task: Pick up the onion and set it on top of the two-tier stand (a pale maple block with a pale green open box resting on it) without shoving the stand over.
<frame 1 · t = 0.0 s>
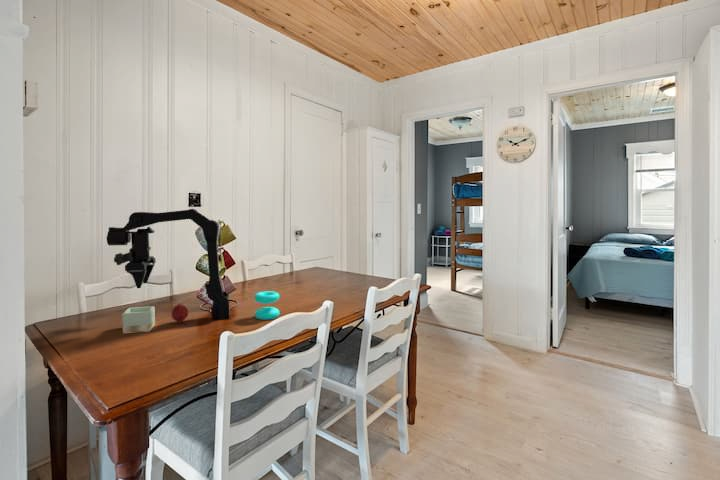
hand: (142, 285, 143), 15 cm above the table, fingers open, 9 cm apart
onion: (180, 323, 146), on the table
donuts: (267, 317, 154), on the table
base block: (139, 329, 138), on the table, touching pale green open box
pale green open box: (139, 321, 138), point 3 cm above the table, touching base block
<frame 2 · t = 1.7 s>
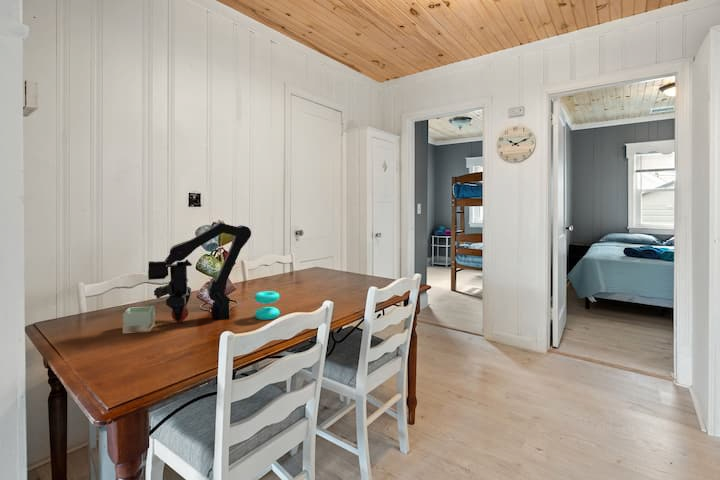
hand: (180, 317, 145), 2 cm above the table, fingers open, 9 cm apart
nothing on the table moved.
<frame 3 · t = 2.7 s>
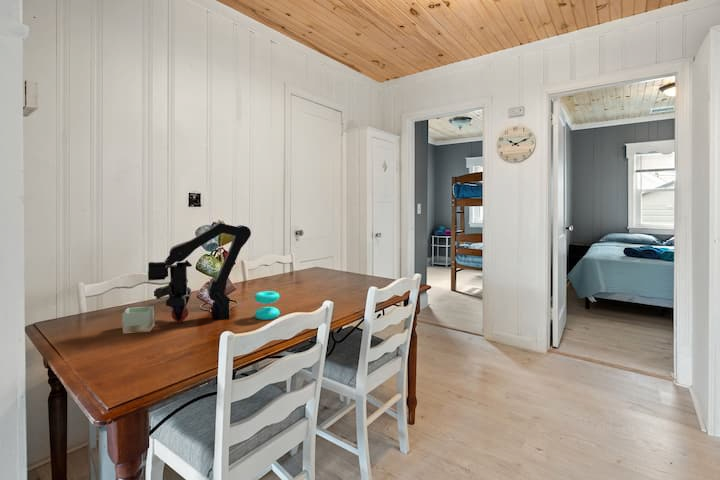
hand: (179, 317, 145), 2 cm above the table, fingers closed on onion, 6 cm apart
onion: (180, 323, 146), on the table, touching gripper
everything else where it was.
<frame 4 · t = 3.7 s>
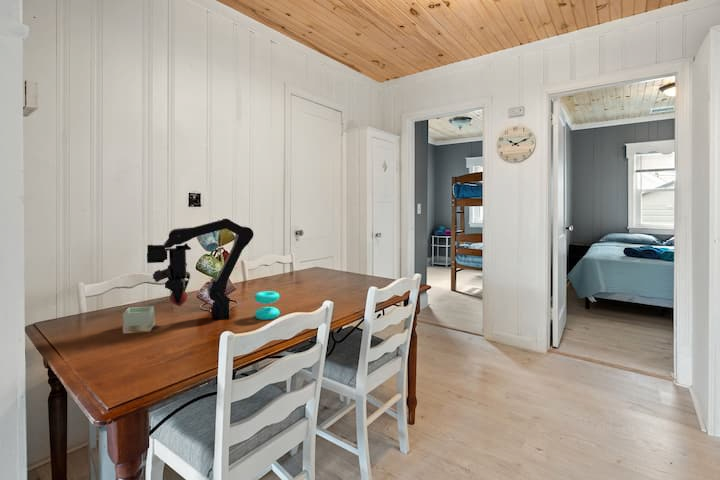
hand: (179, 301, 145), 8 cm above the table, fingers closed on onion, 6 cm apart
onion: (179, 306, 145), point 6 cm above the table, touching gripper
everything else where it was.
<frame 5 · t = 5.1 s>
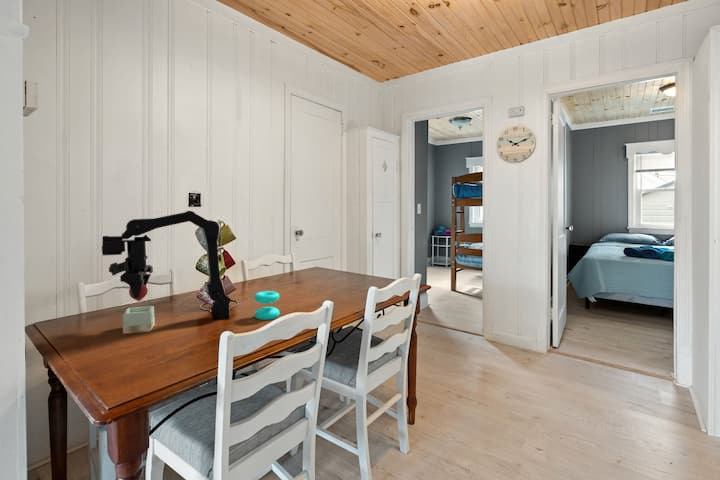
hand: (138, 296, 137), 12 cm above the table, fingers closed on onion, 6 cm apart
onion: (138, 301, 137), point 10 cm above the table, touching gripper
base block: (139, 329, 138), on the table
pale green open box: (139, 321, 138), point 3 cm above the table
everything else where it was.
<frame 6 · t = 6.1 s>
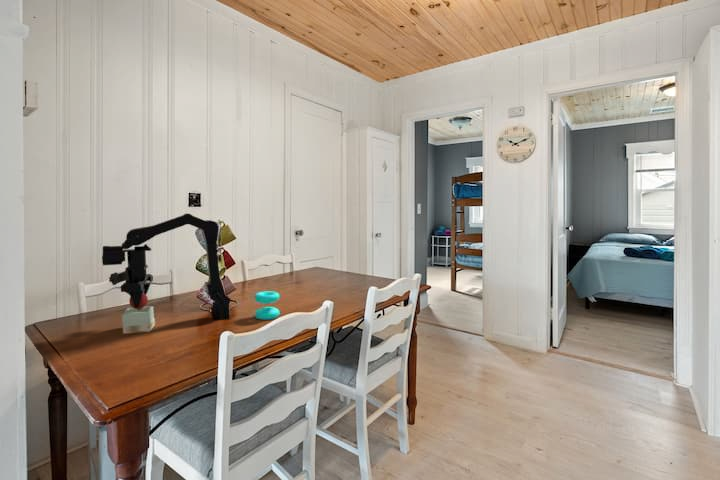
hand: (139, 305, 137), 9 cm above the table, fingers closed on onion, 6 cm apart
onion: (139, 310, 137), point 7 cm above the table, touching gripper
everything else where it was.
when the fingers open (9 cm above the table, at t = 6.5 s): onion drops 1 cm, resting on pale green open box.
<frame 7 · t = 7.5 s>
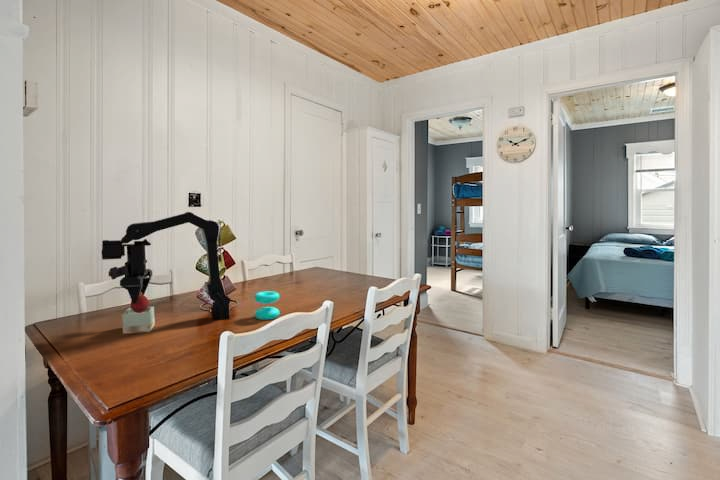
hand: (138, 300, 137), 11 cm above the table, fingers open, 9 cm apart
onion: (139, 314, 138), point 5 cm above the table, touching pale green open box
base block: (139, 330, 138), on the table, touching pale green open box
pale green open box: (139, 322, 137), point 2 cm above the table, touching base block, onion
everything else where it was.
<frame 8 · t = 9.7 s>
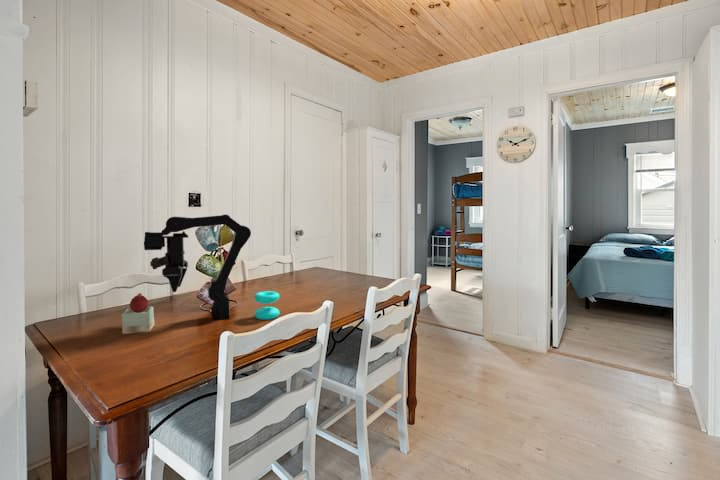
hand: (176, 289, 145), 13 cm above the table, fingers open, 9 cm apart
base block: (139, 330, 138), on the table
pale green open box: (138, 322, 137), point 3 cm above the table, touching onion
at the end: onion 0.5 cm off-centre on the pale green open box, point 3.0 cm above the pale green open box's base; pale green open box moved 0.7 cm from its start; the gripper is holding nothing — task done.
